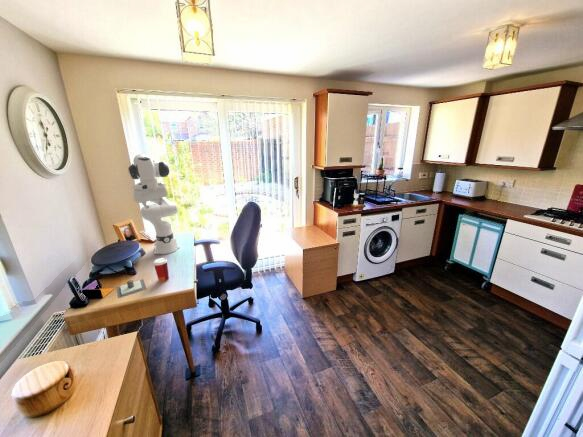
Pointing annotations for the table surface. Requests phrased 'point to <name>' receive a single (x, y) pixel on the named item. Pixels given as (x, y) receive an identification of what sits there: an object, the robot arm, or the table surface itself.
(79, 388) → the table surface
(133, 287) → the lid
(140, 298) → the table surface
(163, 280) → the paper cup
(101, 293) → the miniature room corner
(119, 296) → the mat
